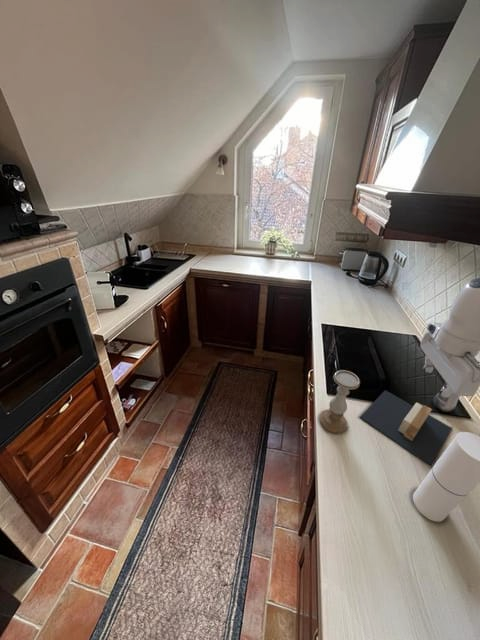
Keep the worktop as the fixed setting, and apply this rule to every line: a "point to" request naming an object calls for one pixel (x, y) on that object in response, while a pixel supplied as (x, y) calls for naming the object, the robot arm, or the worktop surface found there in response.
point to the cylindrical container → (450, 478)
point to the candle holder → (339, 402)
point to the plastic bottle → (445, 401)
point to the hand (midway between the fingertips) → (434, 382)
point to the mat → (389, 418)
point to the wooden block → (414, 420)
